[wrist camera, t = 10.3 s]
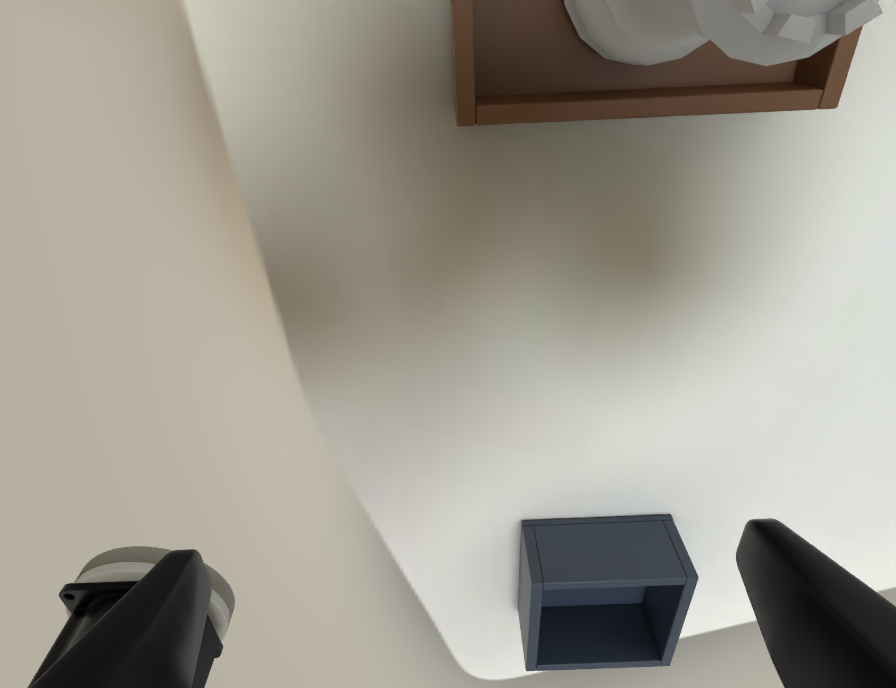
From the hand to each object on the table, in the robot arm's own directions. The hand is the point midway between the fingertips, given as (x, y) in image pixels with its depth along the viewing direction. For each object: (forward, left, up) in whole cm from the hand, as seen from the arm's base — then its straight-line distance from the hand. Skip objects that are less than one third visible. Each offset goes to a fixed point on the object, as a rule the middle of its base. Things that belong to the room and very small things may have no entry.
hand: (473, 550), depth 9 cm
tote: (+6, -17, -12) cm, 21 cm away
